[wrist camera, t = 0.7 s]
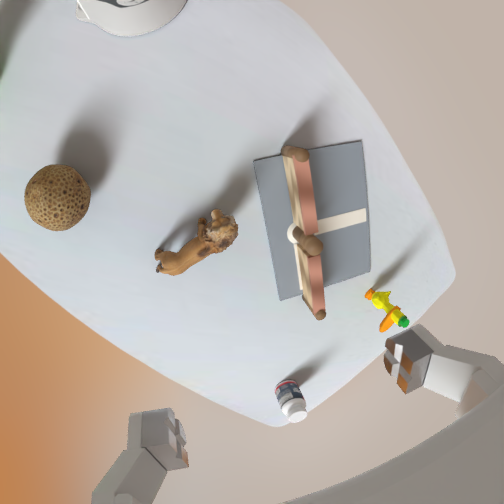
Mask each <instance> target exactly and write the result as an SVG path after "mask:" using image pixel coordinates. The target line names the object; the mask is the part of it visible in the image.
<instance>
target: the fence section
mask: <svg viewBox="0 0 504 504" xmlns="http://www.w3.org/2000/svg"><path fill="white" fill-rule="evenodd" d="M292 235H293V237H294V238H295V239H296V241H297V242H298V243H299V245H297V251H298V258H299V265H300V272H301V280H302V287H303V296H302V299H303V300H304V302H305V303H306V304H307V306H308V307H309V309H310V310H311V312H312V313H313V315H314V316H315V317H316V319H317V320H322V319H324V318H325V316H326V312H325V299H324V287H323V276H322V266H321V256H320V253H321V252H322V250H323V243H322V242H321V241H320V240H319V239H318V238H317V237H316V236H314V235H313V234H310V235H307V236H306V235H305V234H304V231H303V230H302V229H300V228H299V227H298V226H296V227H295V228H294V229H293V231H292Z"/></svg>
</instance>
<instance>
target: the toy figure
mask: <svg viewBox="0 0 504 504" xmlns="http://www.w3.org/2000/svg"><path fill="white" fill-rule="evenodd" d="M390 293H391V291H389V292H375V291H372V289H370V290H369V291H368V292H367V293H366V294H365V298H368V300H371V299H372V302H373V304H374V306H375V307H376V308H377V309H384V310H385V311H386V313H387V315H386V317H385V318H384V319H383V321H382V322H381V324H380V332H384V331H386V330H387V329H389V328H390V327H391V326H392V325H393V323H394V322H395V323H396V324H397V325H398V326H399V327H401V326H403V328H405V327H407V326H408V325H409V320H408V319H407V317H406V316H405V315H404V314H403V313H402V312H401V311H400V309H401V308H399V307H398V306H393V305H392V304H390V303H389V298H388V297H389V295H390Z"/></svg>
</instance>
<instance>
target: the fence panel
mask: <svg viewBox="0 0 504 504" xmlns="http://www.w3.org/2000/svg"><path fill="white" fill-rule="evenodd" d="M281 154H282V156H283V162H284V167H285V173H286V179H287V185H288V191H289V197H290V203H291V209H292V216H293V222H294V223H295V224H296V225H297V226H298V227H299V228H300V229H302V230H303V231H304V234H305V235H306V236H307V235H310V234H314V233H318V223H317V215H316V207H315V200H314V193H313V185H312V178H311V172H310V165H309V156H310V155H309V152H308V150H306V149H303V148H298V147H293V146H288V145H285V146H283V147H282V148H281Z"/></svg>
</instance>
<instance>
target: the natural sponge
mask: <svg viewBox="0 0 504 504" xmlns="http://www.w3.org/2000/svg"><path fill="white" fill-rule="evenodd" d="M24 197H25V205H26V208H27V211H28V213H29V215H30V217H31V218H32V220H33V221H34V222H36V223H37V224H39V225H41V226H43V227H44V228H47V229H49V230H52V231H63V230H67V229H69V228H71V227H73V226H74V225H76V224H77V223H78V222H79V221H80V220H81V219H82V218H83V217H84V215H85V214H86V212H87V211H88V207H89V203H90V197H91V191H90V188H89V186H88V184H87V183H86V181H85V180H84V179H83V178H82V177H81V175H80V174H79V173H78V172H77V171H76V170H75V169H74V168H72V167H70V166H67V165H48V166H46V167H44V168H42V169H41V170H39V171H38V172H37V173H36V174H35V175H34V176H33V177H32V178H31V179H30V181H29V182H28V184H27V186H26V189H25V196H24Z"/></svg>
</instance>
